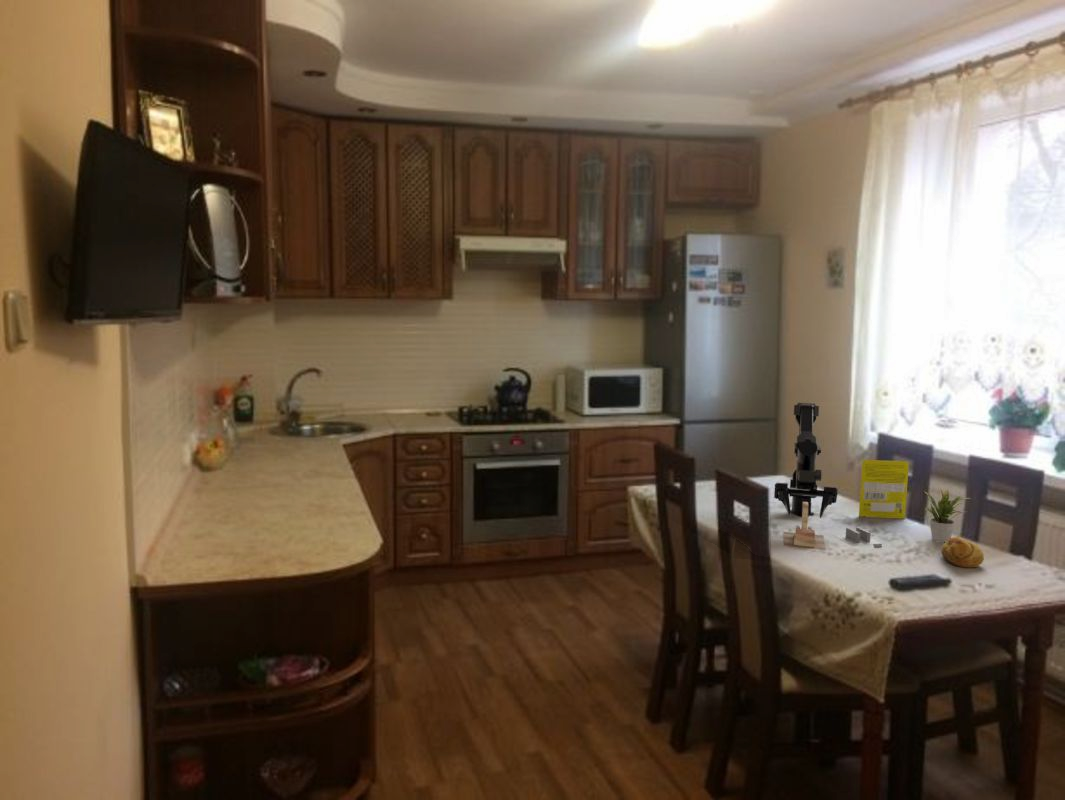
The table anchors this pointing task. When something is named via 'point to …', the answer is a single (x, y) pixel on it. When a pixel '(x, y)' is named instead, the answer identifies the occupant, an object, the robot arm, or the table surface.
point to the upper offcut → (805, 533)
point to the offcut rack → (790, 542)
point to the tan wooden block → (804, 515)
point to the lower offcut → (804, 542)
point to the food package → (883, 488)
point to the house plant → (943, 517)
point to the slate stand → (858, 537)
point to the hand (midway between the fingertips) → (804, 516)
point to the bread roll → (962, 552)
